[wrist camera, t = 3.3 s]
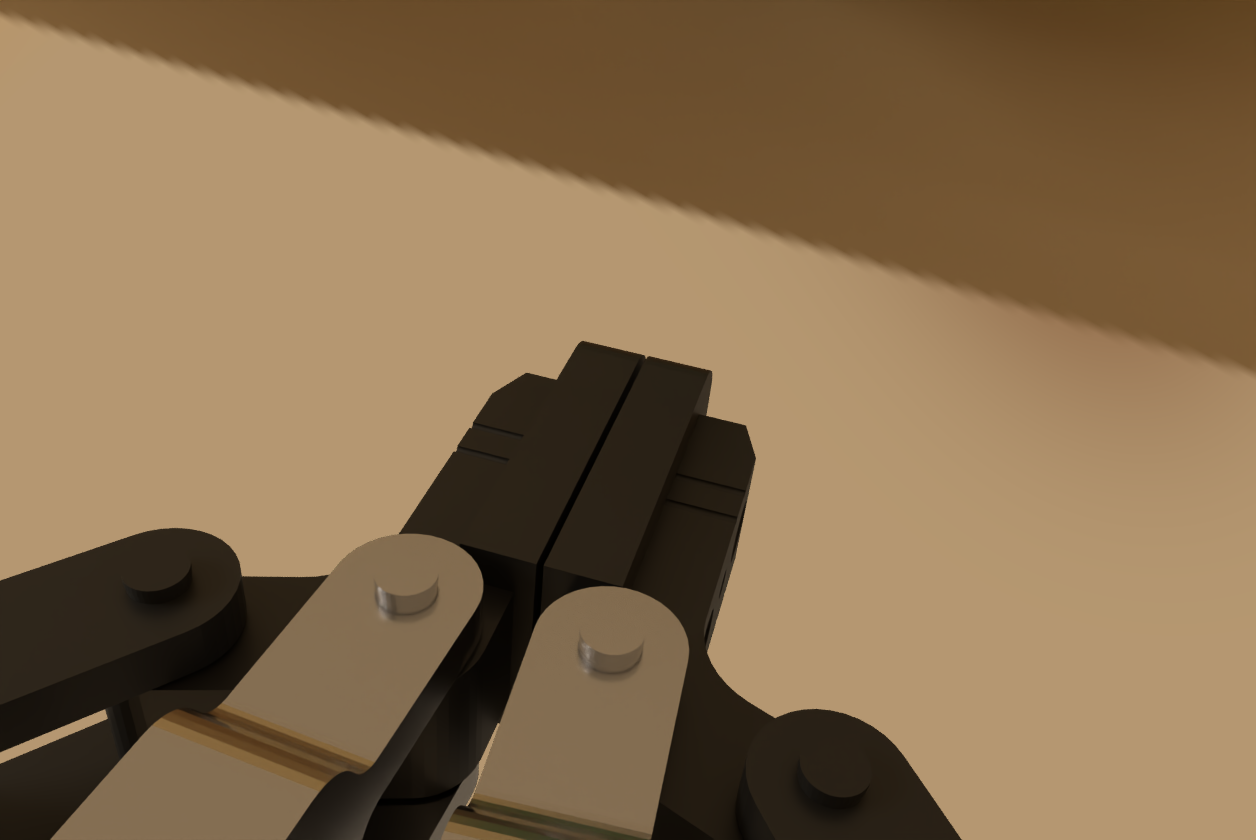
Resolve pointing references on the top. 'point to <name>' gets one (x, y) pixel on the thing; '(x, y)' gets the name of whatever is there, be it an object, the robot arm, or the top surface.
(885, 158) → the top surface
